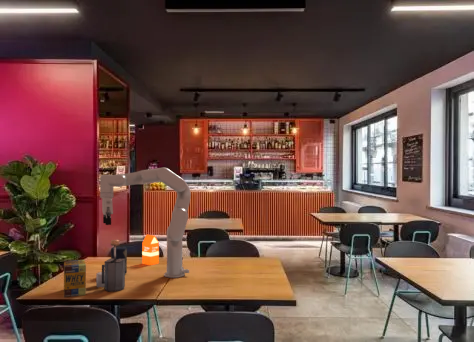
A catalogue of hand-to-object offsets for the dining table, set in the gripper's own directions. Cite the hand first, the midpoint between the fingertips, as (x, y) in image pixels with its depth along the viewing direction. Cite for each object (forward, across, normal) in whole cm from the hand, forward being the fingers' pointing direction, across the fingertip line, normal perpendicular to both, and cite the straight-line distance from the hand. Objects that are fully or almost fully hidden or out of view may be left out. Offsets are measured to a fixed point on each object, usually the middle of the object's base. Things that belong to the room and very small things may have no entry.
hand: (107, 224), depth 236 cm
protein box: (+33, -21, +20) cm, 43 cm away
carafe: (+33, -24, 0) cm, 41 cm away
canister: (+33, +8, -8) cm, 35 cm away
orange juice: (+33, +30, -33) cm, 56 cm away
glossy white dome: (+33, -14, +4) cm, 36 cm away
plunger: (+20, -24, -1) cm, 31 cm away
